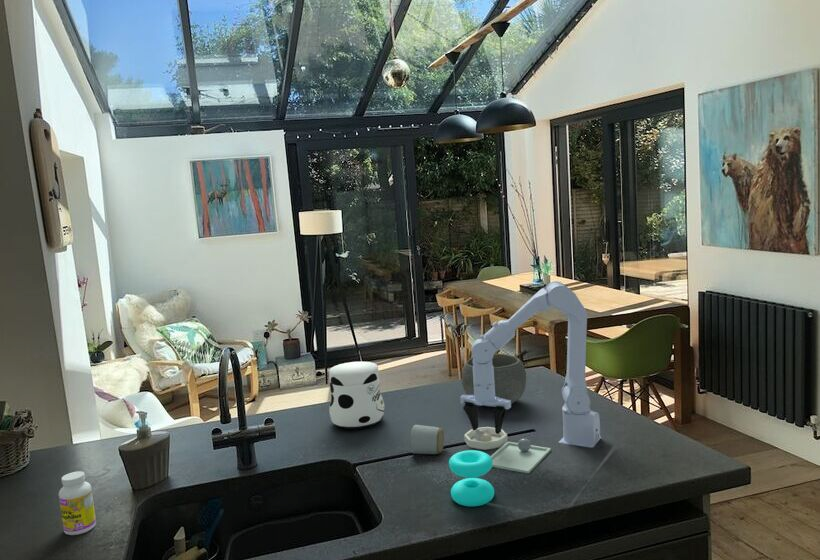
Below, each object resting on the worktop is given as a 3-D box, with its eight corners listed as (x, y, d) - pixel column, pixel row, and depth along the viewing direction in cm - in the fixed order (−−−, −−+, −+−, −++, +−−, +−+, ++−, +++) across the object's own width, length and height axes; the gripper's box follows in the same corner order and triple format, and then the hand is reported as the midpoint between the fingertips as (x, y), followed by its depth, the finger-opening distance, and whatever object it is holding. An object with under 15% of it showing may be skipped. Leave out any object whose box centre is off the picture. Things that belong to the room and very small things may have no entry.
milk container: (396, 422, 200) (391, 366, 198) (347, 437, 191) (342, 379, 189) (367, 410, 215) (363, 357, 212) (321, 423, 205) (316, 368, 203)
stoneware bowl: (512, 438, 181) (512, 430, 180) (495, 453, 171) (495, 444, 171) (477, 433, 187) (476, 425, 186) (458, 447, 177) (458, 438, 177)
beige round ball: (486, 431, 178) (496, 436, 175) (483, 442, 178) (492, 448, 176) (479, 431, 175) (488, 436, 173) (475, 442, 176) (485, 448, 173)
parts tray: (551, 452, 169) (550, 448, 169) (528, 475, 157) (528, 471, 157) (507, 445, 176) (507, 441, 176) (483, 467, 163) (482, 462, 163)
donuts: (439, 456, 148) (473, 444, 153) (442, 497, 149) (476, 484, 154) (466, 470, 139) (501, 457, 145) (469, 513, 141) (503, 499, 146)
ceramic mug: (440, 458, 171) (438, 431, 170) (410, 457, 173) (408, 430, 172) (447, 444, 181) (446, 417, 180) (419, 443, 183) (418, 417, 182)
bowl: (533, 413, 200) (530, 366, 198) (465, 417, 200) (462, 371, 198) (522, 392, 221) (519, 350, 219) (461, 396, 221) (458, 354, 219)
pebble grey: (490, 432, 179) (480, 424, 179) (486, 440, 176) (477, 432, 176) (483, 438, 181) (473, 430, 181) (480, 446, 178) (470, 438, 178)
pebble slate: (533, 449, 171) (532, 437, 170) (528, 454, 168) (527, 442, 167) (521, 447, 172) (520, 435, 172) (516, 452, 170) (515, 440, 169)
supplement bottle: (57, 536, 144) (49, 482, 142) (77, 521, 151) (69, 469, 149) (84, 536, 143) (76, 482, 141) (102, 521, 149) (95, 469, 148)
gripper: (453, 384, 176) (456, 432, 178) (502, 389, 168) (505, 439, 170) (465, 377, 182) (468, 423, 184) (513, 382, 174) (515, 430, 176)
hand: (486, 430), depth 177 cm, fingers open, 6 cm apart
